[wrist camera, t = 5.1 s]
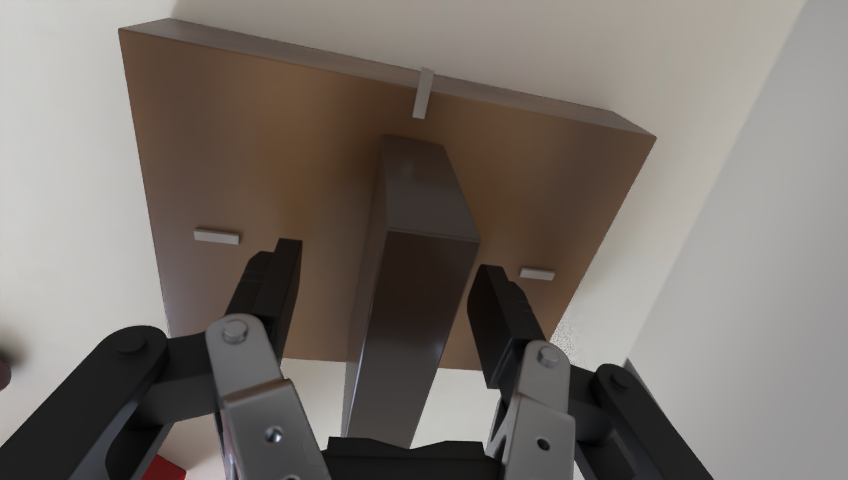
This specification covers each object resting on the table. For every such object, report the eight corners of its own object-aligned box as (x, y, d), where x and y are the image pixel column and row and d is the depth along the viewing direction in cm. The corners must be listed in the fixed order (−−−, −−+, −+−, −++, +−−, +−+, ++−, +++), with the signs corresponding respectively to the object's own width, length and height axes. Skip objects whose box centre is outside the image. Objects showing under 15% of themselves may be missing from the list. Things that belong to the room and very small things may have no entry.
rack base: (621, 96, 16) (671, 120, 13) (510, 337, 22) (528, 385, 20) (164, -5, 12) (107, 1, 10) (199, 311, 19) (171, 364, 17)
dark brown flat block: (382, 133, 12) (386, 234, 8) (445, 145, 13) (486, 247, 8) (348, 339, 17) (336, 482, 12) (394, 343, 17) (401, 482, 13)
